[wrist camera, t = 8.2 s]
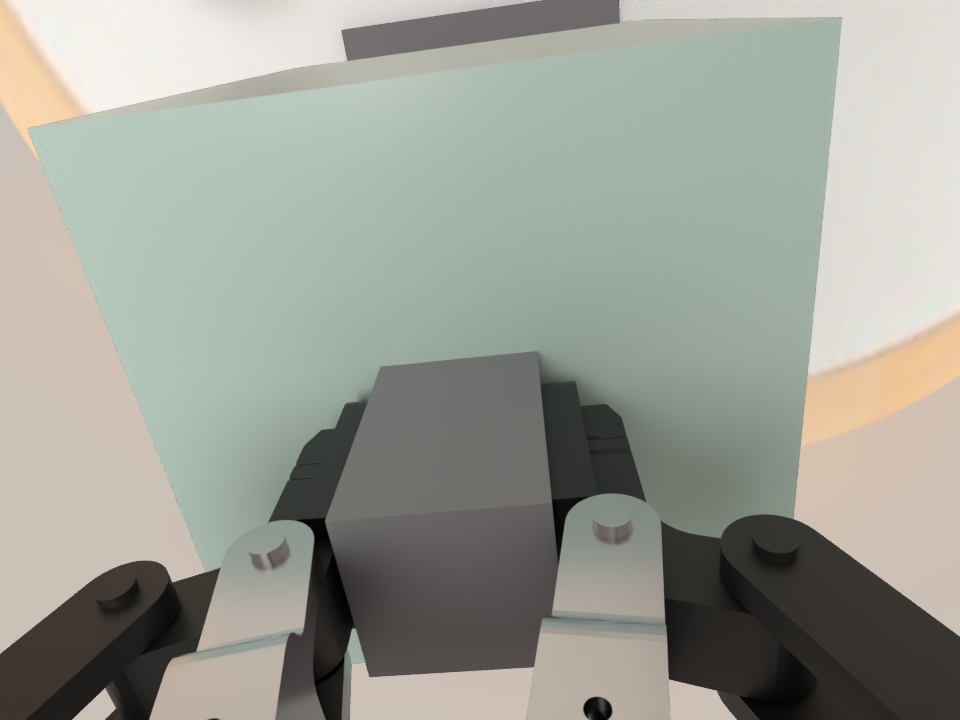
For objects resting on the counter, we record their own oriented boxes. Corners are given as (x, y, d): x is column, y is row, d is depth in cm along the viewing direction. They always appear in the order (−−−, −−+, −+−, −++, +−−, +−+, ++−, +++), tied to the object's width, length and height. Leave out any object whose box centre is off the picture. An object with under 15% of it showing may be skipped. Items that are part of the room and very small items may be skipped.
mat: (617, -11, 39) (618, -11, 38) (626, 258, 46) (627, 260, 45) (342, 29, 40) (341, 30, 40) (392, 285, 47) (392, 287, 47)
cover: (644, 19, 24) (1064, 15, 6) (650, 344, 30) (876, 846, 12) (294, 68, 26) (-241, 188, 7) (363, 373, 31) (164, 872, 13)
